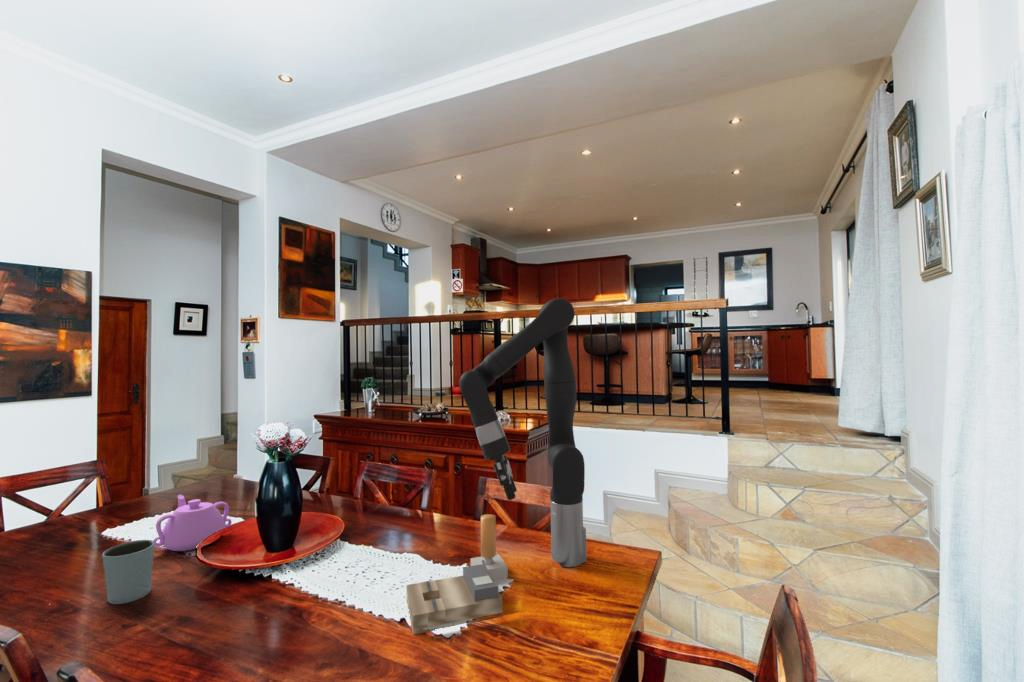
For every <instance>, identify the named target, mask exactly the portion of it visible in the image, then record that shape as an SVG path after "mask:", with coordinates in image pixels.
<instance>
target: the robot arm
mask: <svg viewBox="0 0 1024 682" xmlns="http://www.w3.org/2000/svg"><path fill="white" fill-rule="evenodd" d="M574 318H575V308H574V306H573V304H572V303H571V302H570V301H569V300H567V299H565V298H560V297H559V298H553V299H550V300H548V301H547V302H545V303H544V304H542V306H541V307H540V310H539V314H538V315H537V316H536V317H535V318H534V319H533V320H532V321H531V322H530V323H529V324H528V325H527V326H525V327H523V328H522V329H521V330H520V331H518V332H517V333H516V334H514V335H512V336H511V337H510V338H508V339H506V340H505V341H504V342H503V343H501V344H500V345H499V346H497V347H496V348H494V350H492V351H491V352H490V353H489V354H488V355H486V356H485V358H484V359H483V360H482V361H481V363H479V364H478V365H476V366H475V367H474V368H472V369H471V370H468V371H465V372H464V373H462V374H461V376H460V378H459V381H458V385H459V390H460V392H461V395H462V398H463V399H464V401H465V404H466V406H467V408H468V411H469V414H470V418H471V421H472V424H473V427H474V430H475V433H476V437H477V440H478V444H479V446H480V449H481V452H482V455H483V457H484V459H485V460H486V461H489V460H494V463H493V469H494V470H495V473H496V476H497V479H498V481H499V485H500V486H501V487H502V488H503V490H504V493H505V495H506V498H507V500H508V501H511V500H513V499H515V498H516V494H515V493H516V492H517V490H518V489H517V487H516V484H515V481H514V479H513V478H514V477H513V471H512V468H511V464H510V461H509V459H508V458H507V455H506V454H508V453H509V452H510V451H511V448H510V444H509V442H508V439H507V437H506V434H505V430H504V428H503V426H502V423H501V421H500V419H499V417H498V413H497V411H496V409H495V407H494V405H493V403H492V401H491V399H490V395H489V392H488V389H487V388H489V387H490V386H491V385H492V384H493V383H494V382H495V381H496V380H497V379H499V378H500V377H502V376H503V375H504V374H506V373H507V372H508V371H509V370H510V369H511V368H513V367H514V366H516V365H517V364H518V363H519V362H520V361H521V360H522V359H524V357H525V356H527V355H528V354H529V353H530V352H531V351H533V350H534V349H535V348H536V347H537V346H539V345H540V344H541V343H542V344H543V382H544V383H543V385H544V386H543V387H544V398H545V407H546V408H545V409H546V414H547V423H548V444H547V446H548V447H547V461H548V464H549V466H550V468H551V470H552V484H551V485H552V486H551V489H550V491H549V492H550V498H549V499H550V546H551V547H550V548H551V549H550V556H551V559H552V561H554V562H555V563H558V564H559V566H561V567H563V568H573V567H574V568H575V567H578V566H581V565H582V564H583V563H587V528H586V527H585V526H584V509H583V508H584V506H583V504H584V503H583V502H584V501H583V500H584V498H583V495H584V492H585V475H586V474H585V473H586V472H585V471H586V470H585V467H586V466H585V460H584V459H585V458H584V454H582V452H581V451H580V449H578V448H577V447H576V442H575V436H574V418H575V411H576V406H577V395H578V394H577V381H576V372H575V369H574V365H573V361H572V359H571V354H570V350H569V345H568V344H569V343H568V327H569V326H570V325H571V324H572V323H573V321H574Z"/></svg>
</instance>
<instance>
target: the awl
mask: <svg viewBox="0 0 1024 682" xmlns="http://www.w3.org/2000/svg"><path fill="white" fill-rule="evenodd" d="M496 527H497V525H496V515H495V514H490V513H489V514H488V513H487V514H486V513H485V514H483V515H482V514H481V516H480V557H484V563H485V566H486V565H492V564H493V557H494V556H496V554H497V535H496V534H497V533H496V531H497V530H496V529H497V528H496Z"/></svg>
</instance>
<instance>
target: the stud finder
mask: <svg viewBox="0 0 1024 682" xmlns="http://www.w3.org/2000/svg"><path fill="white" fill-rule="evenodd" d="M462 576H463V578H464V580H465V582H466V584H467V587H468V589H469V591H470V593H471V595H472V597H473V599H474V601H481V600H486V599H492V598H497V597H498V592H499V585H498V584H497V582H496V580H494V579H493V577H492V576H491V574H490V572H489V571H488V569H487V567H486V566H485V564H481V565H475V566H471V565H470V566H464V567H462Z"/></svg>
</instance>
